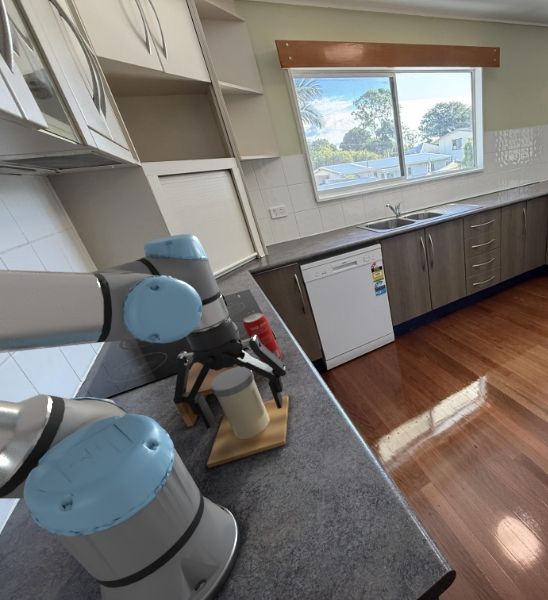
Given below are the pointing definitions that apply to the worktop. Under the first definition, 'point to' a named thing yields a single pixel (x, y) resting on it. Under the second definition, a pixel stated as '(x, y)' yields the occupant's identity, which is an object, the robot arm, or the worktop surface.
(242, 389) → the jar
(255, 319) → the beverage can
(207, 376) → the shelf
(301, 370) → the worktop surface
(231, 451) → the board
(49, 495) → the robot arm
